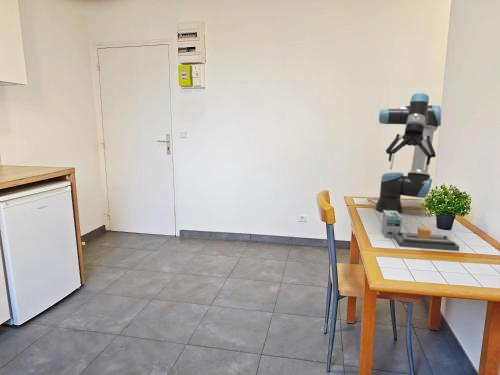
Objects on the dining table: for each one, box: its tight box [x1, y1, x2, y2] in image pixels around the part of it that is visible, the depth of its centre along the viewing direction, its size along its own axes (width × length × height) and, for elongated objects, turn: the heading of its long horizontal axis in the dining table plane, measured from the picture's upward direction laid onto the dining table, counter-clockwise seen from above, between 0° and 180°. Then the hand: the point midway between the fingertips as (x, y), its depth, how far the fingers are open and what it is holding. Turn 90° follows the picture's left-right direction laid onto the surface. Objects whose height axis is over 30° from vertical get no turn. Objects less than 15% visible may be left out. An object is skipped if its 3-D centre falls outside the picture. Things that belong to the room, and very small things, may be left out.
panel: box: [393, 232, 460, 252], centre depth 148 cm, size 10×24×3 cm, turn 80°
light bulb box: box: [381, 210, 403, 239], centre depth 159 cm, size 11×7×11 cm, turn 169°
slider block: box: [416, 226, 432, 239], centre depth 147 cm, size 4×4×5 cm
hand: (407, 169), depth 147 cm, fingers open, 13 cm apart
